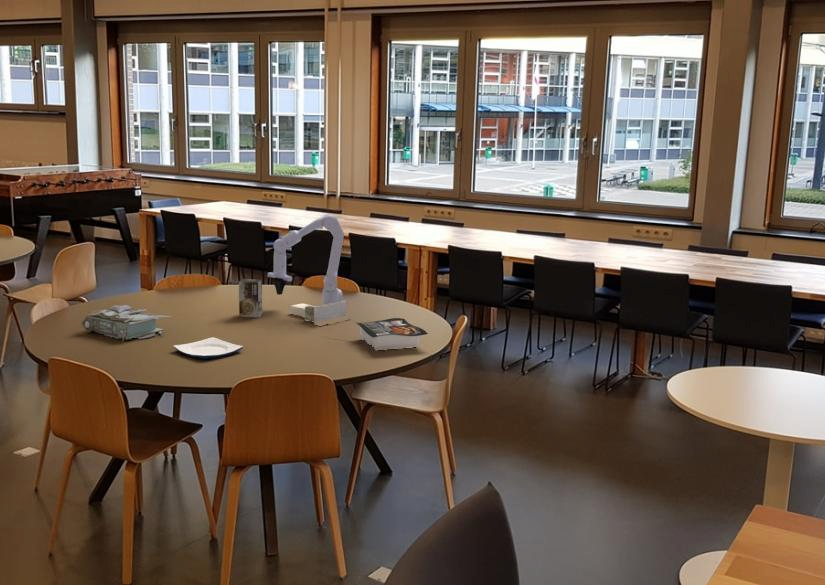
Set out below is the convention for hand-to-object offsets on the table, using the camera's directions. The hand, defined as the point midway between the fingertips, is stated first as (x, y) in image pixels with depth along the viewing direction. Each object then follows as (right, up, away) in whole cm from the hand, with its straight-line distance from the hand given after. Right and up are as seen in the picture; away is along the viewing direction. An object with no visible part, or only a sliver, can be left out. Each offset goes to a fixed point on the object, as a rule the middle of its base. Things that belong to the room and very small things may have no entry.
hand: (279, 294), depth 389 cm
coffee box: (-11, -10, -14) cm, 20 cm away
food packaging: (+52, -20, -52) cm, 76 cm away
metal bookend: (+27, -12, -20) cm, 36 cm away
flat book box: (+13, -10, -9) cm, 18 cm away
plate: (-15, -22, -72) cm, 77 cm away
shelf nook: (+22, -11, -16) cm, 30 cm away
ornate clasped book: (-54, -16, -50) cm, 75 cm away
